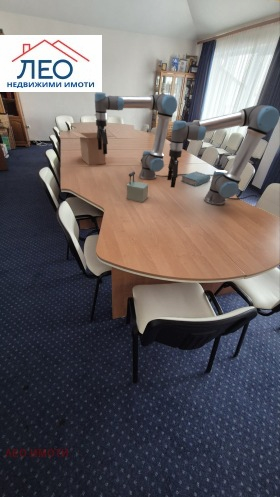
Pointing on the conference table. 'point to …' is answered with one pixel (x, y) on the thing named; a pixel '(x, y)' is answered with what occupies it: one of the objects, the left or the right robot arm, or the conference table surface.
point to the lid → (136, 183)
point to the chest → (137, 194)
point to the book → (195, 178)
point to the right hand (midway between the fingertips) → (170, 183)
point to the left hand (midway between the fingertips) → (102, 151)
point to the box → (91, 147)
